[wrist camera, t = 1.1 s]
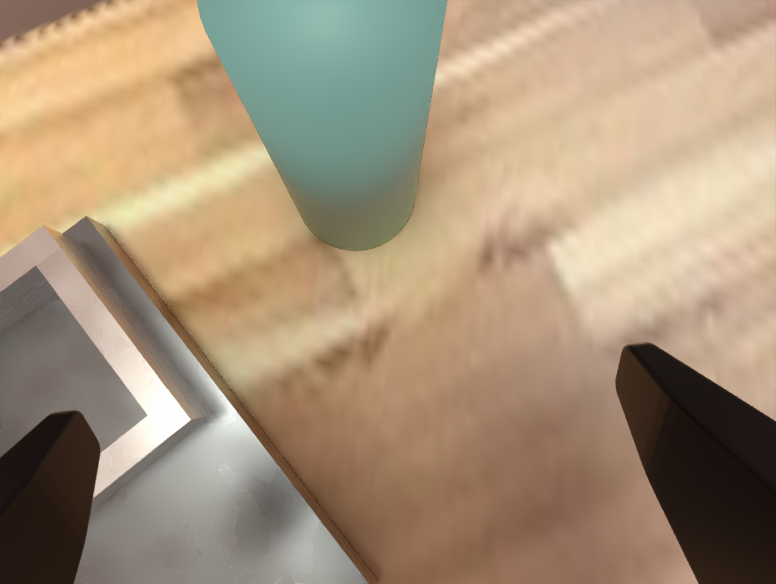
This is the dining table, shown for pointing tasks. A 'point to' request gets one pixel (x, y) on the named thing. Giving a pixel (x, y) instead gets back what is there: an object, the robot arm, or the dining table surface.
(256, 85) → the teal tall cylinder
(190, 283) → the dining table surface
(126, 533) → the socket board
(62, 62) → the dining table surface
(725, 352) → the dining table surface
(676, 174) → the dining table surface
